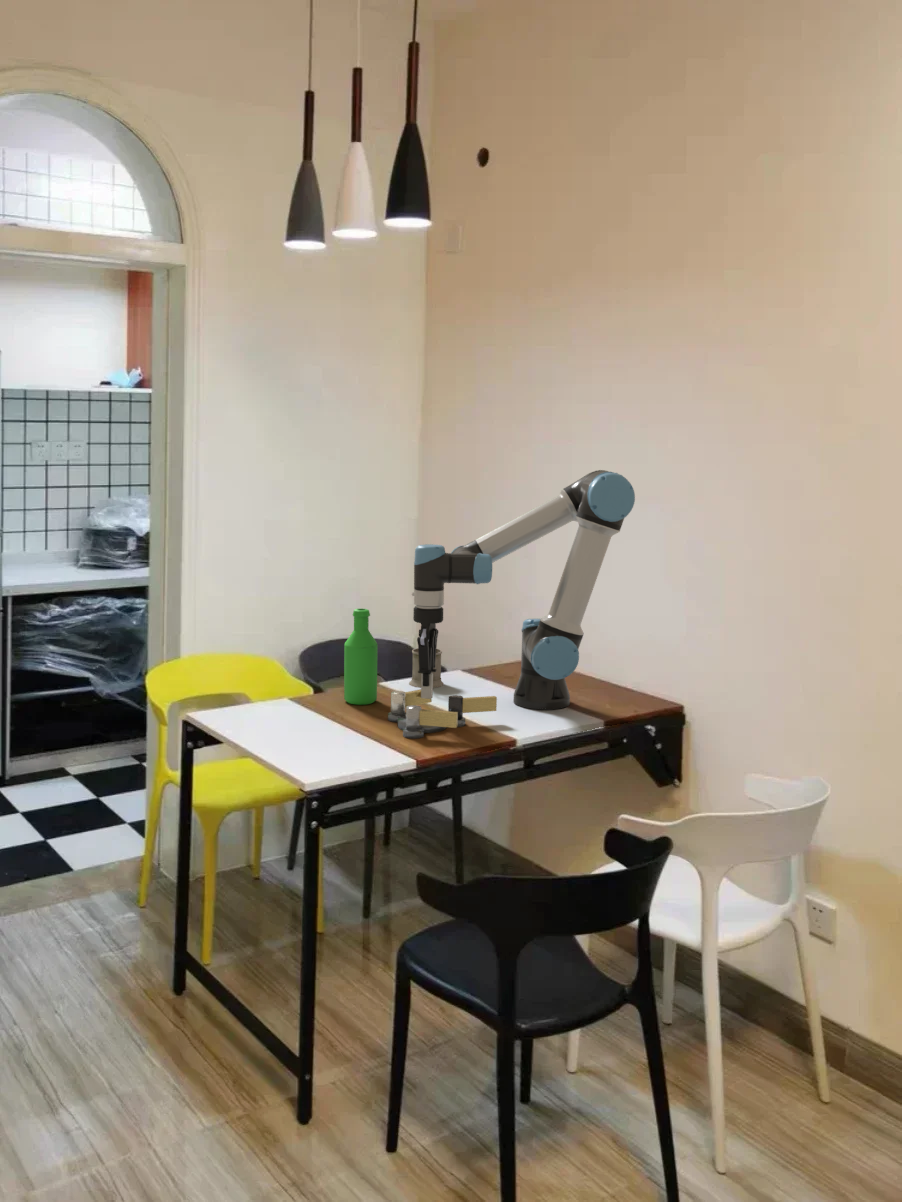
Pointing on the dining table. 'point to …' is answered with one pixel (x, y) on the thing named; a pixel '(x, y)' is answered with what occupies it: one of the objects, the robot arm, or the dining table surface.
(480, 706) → the black and tan lever
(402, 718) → the tribrach plate
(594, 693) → the dining table surface
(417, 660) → the mug
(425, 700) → the lever
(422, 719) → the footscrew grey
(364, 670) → the bottle
